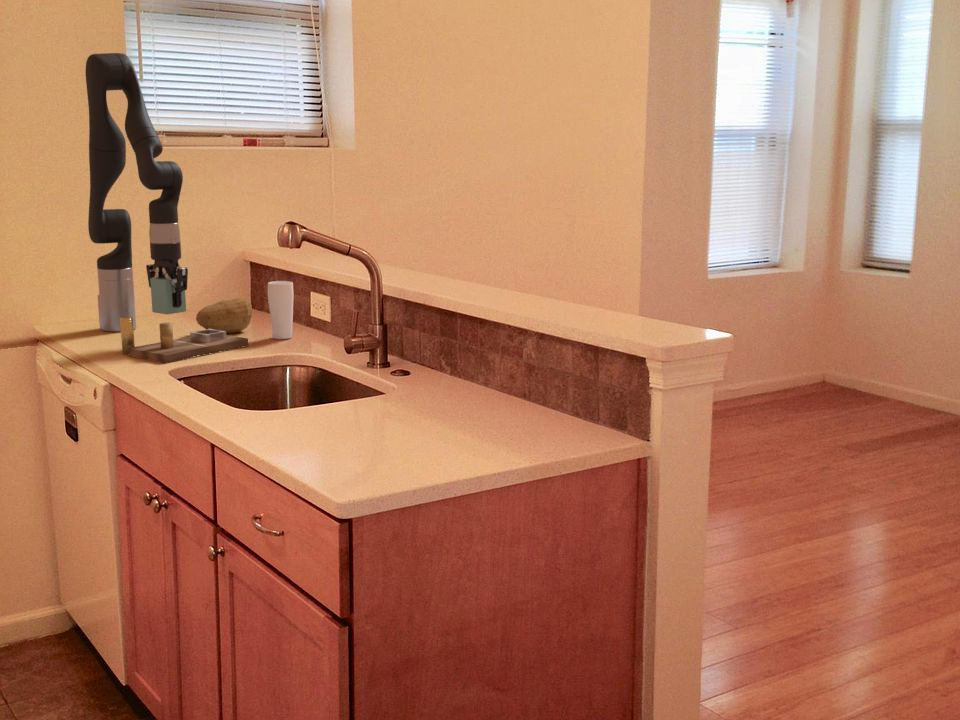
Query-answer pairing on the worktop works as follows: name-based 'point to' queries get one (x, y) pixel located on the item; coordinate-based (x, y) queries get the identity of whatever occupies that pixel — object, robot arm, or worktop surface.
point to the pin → (127, 334)
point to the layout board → (186, 345)
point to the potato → (226, 315)
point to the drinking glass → (281, 308)
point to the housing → (165, 297)
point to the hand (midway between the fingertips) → (169, 305)
